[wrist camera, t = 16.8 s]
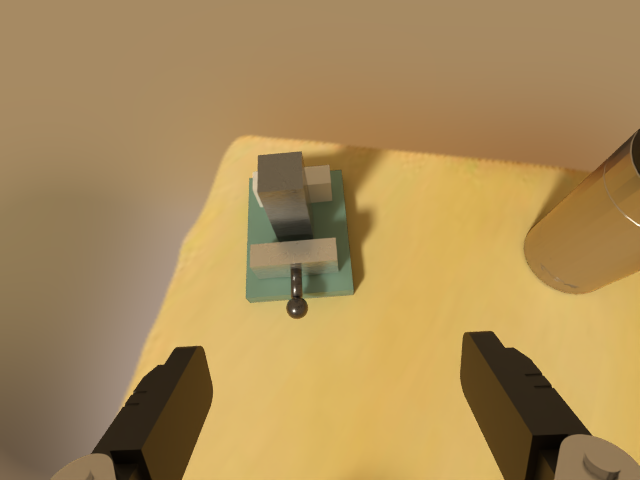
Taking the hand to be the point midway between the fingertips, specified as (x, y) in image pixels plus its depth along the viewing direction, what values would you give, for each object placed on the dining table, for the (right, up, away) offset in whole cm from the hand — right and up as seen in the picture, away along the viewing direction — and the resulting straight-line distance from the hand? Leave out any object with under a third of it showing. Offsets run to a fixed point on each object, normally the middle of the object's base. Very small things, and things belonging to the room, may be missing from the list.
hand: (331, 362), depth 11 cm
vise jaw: (-3, -1, +28) cm, 28 cm away
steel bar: (-3, +5, +31) cm, 32 cm away
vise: (-3, +4, +33) cm, 33 cm away
